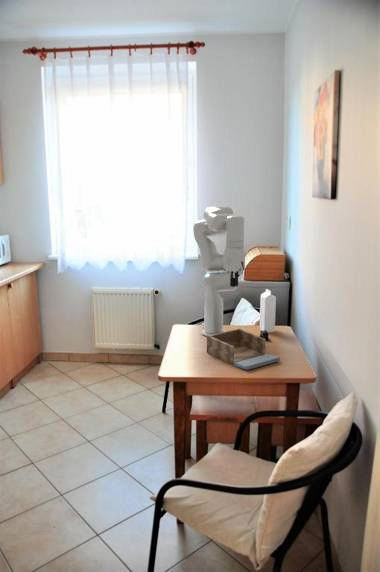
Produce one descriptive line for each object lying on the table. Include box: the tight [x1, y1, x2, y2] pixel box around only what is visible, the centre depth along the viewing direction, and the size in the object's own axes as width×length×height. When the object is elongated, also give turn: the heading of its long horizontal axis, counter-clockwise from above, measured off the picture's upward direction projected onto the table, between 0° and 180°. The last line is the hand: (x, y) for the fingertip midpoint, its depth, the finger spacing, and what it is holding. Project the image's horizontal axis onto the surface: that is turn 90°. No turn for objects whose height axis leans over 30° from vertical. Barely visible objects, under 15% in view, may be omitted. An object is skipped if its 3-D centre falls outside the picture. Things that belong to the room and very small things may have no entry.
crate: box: [206, 328, 266, 365], centre depth 207 cm, size 18×19×8 cm
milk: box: [259, 288, 277, 333], centre depth 240 cm, size 6×6×22 cm
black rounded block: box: [258, 330, 273, 343], centre depth 228 cm, size 12×7×5 cm, turn 10°
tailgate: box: [233, 353, 281, 371], centre depth 196 cm, size 1×19×8 cm
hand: (234, 286), depth 203 cm, fingers closed
